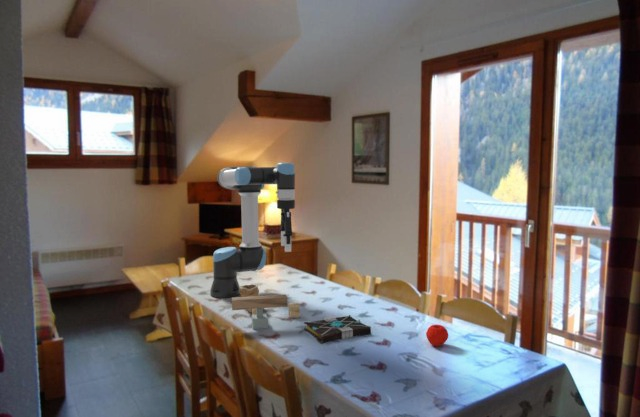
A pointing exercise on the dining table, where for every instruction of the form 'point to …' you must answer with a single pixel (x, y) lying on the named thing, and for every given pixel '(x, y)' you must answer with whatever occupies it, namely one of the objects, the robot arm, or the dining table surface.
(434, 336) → the apple
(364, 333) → the book
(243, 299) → the rod
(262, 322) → the block
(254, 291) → the pipe
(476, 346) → the dining table surface
